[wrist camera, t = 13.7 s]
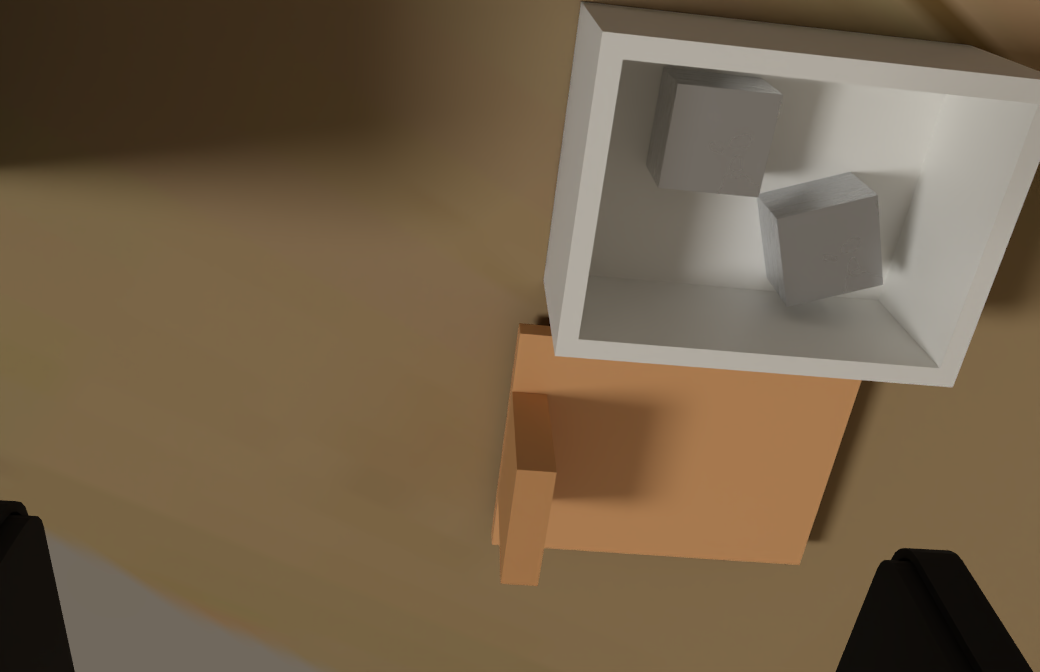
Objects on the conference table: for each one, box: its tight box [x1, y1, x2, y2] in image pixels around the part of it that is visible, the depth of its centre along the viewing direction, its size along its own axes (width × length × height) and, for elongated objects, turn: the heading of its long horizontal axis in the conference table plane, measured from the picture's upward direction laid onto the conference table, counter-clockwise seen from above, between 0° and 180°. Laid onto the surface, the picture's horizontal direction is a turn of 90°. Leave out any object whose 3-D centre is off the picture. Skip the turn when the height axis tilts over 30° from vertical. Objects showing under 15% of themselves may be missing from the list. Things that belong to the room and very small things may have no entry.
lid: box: [492, 323, 862, 586], centre depth 42 cm, size 12×16×8 cm
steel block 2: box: [757, 172, 883, 307], centre depth 38 cm, size 4×4×3 cm
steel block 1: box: [646, 67, 783, 197], centre depth 36 cm, size 4×4×3 cm
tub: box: [544, 1, 1040, 387], centre depth 36 cm, size 12×16×7 cm
